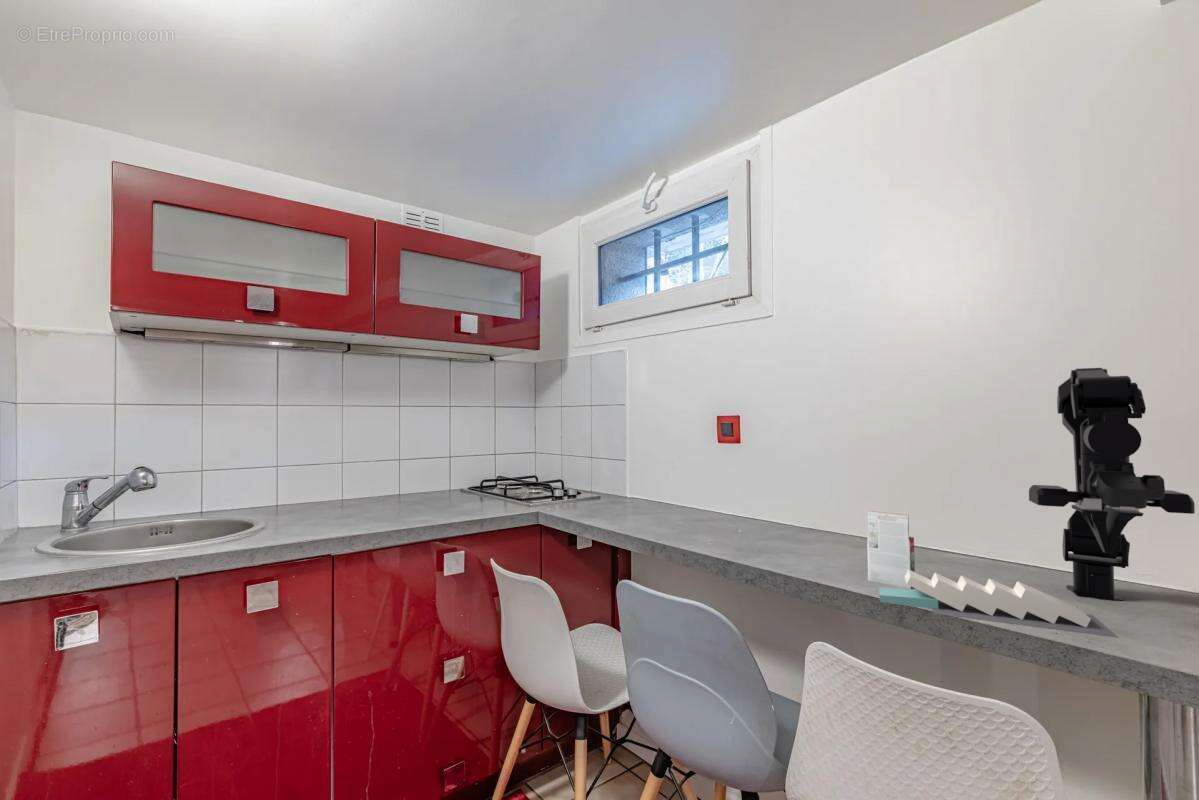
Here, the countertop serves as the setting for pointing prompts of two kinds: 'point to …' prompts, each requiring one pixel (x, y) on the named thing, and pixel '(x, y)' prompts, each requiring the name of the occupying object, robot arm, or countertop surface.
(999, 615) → the runner mat
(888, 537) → the ink box
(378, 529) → the countertop surface
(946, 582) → the domino
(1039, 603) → the domino
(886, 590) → the domino
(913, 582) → the domino
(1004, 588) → the domino
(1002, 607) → the domino
